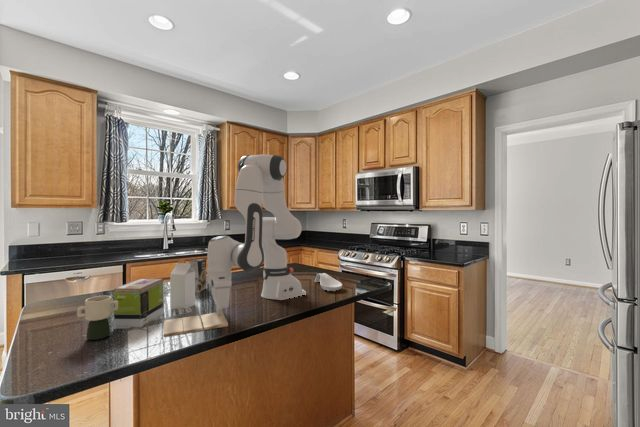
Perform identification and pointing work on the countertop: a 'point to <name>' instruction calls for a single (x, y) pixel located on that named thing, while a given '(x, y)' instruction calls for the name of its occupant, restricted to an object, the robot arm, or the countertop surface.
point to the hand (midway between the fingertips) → (219, 313)
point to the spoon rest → (328, 282)
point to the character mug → (98, 315)
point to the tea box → (138, 303)
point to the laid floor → (182, 325)
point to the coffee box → (199, 273)
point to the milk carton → (182, 286)
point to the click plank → (213, 321)
